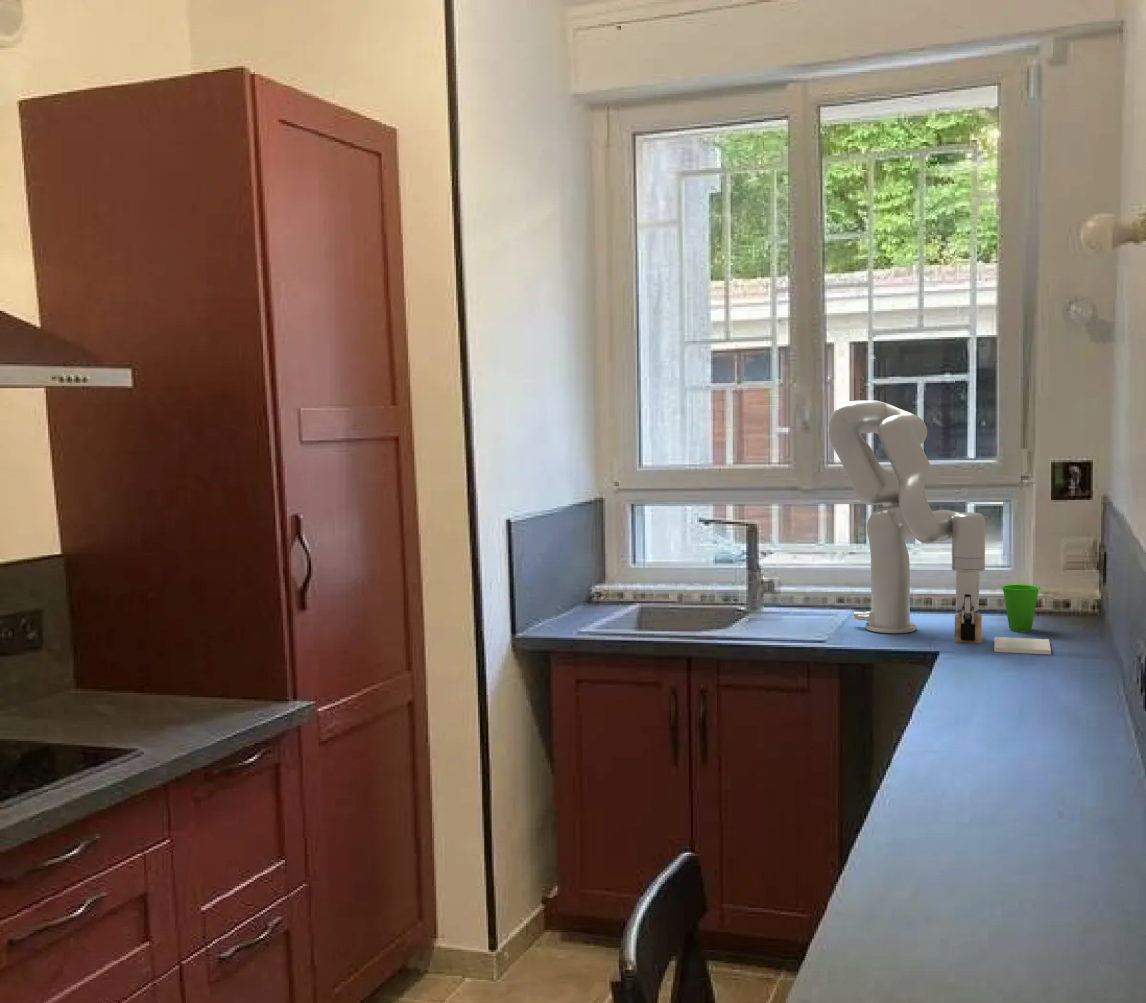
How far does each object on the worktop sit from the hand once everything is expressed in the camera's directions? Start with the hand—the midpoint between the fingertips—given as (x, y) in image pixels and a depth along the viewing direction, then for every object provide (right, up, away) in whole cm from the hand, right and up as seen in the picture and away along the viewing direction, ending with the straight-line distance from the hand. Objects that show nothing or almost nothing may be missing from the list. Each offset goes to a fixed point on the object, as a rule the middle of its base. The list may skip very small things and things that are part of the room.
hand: (968, 636), depth 269 cm
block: (0, -1, 0) cm, 1 cm away
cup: (+17, 0, +10) cm, 19 cm away
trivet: (+9, -1, -10) cm, 13 cm away
